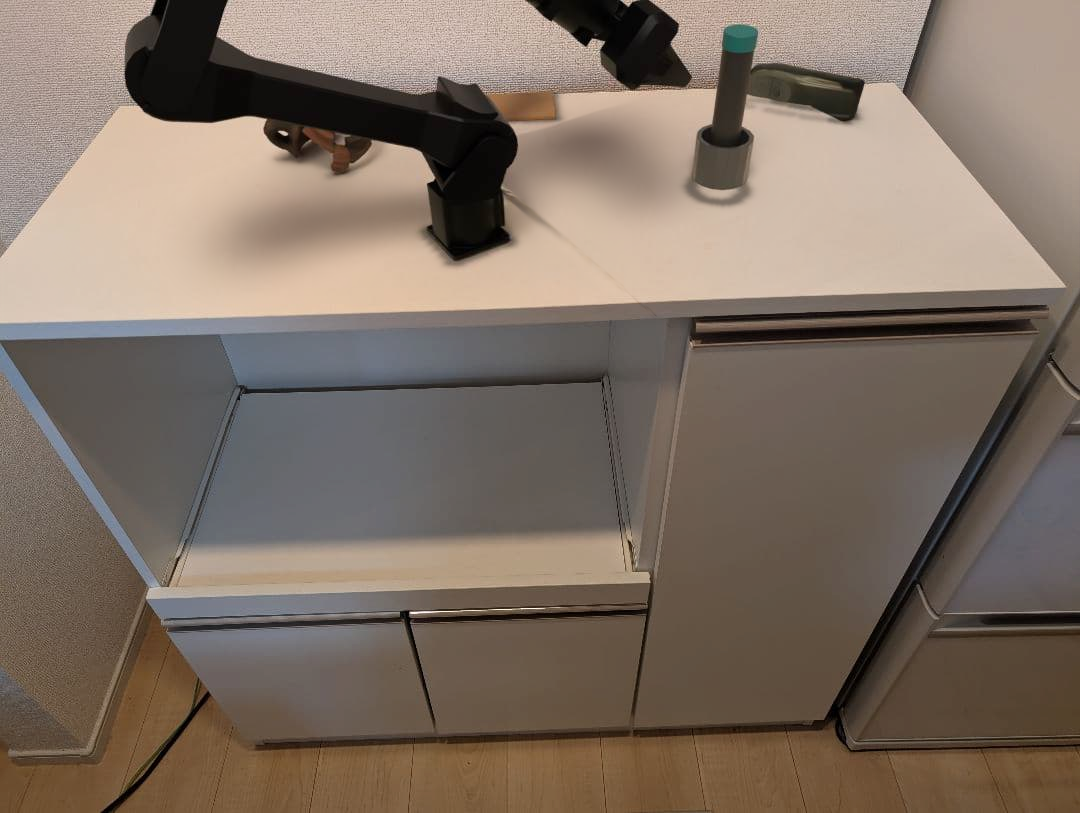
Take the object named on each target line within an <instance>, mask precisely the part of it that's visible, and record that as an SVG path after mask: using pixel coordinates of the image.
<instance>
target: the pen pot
mask: <svg viewBox="0 0 1080 813" xmlns="http://www.w3.org/2000/svg"><path fill="white" fill-rule="evenodd" d="M711 128H712V123H710V124H707V125H704V126H702V127H700V128H699V129H698V130H697V132H696V138H695V146H694V154H693V160H692V161H693V162H692V170H691V177H692V179H693V180H694V182H695V183H697V184H699V185H700V186H701V187H704V188H707V189H711V190H717V191H727V190H733V189H737V188H739V187H742V186H743V185H744V184H745V183H746V182H747V181H748V175H749V170H750V164H751V158H752V153H753V148H754V140H755V136H754V134H753V132H752V131H751V130H750V129H747V127H744V126H742V128H741V134H740V141H739V146H738V147H730V148H726V147H718V146H714V145H711V144H709V143H710V135H711Z"/></svg>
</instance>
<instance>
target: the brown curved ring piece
mask: <svg viewBox="0 0 1080 813" xmlns="http://www.w3.org/2000/svg"><path fill="white" fill-rule="evenodd" d="M262 128H263V129H262V131H263V134H264V135H265V136H266V138H267V140H268V141H269V142H270V143H271V144H272V145H274V146H275V147H277V148H278V149H281V150H284V151H287V152H288V153H289V154H290V155H291V156H292V157H293V158H295V159H298V158H300V153H301V151H302V149H303V148H304V146H305V144H307V143H308V142H309V141H312V142H314V143H315V144H316V145H317V146H319V147H320V148H321V149H323V150H325V151H326V152H328V153H330V154H332V162H331V164H330V169H331V171H332V172H334V173H340V174H344V173H346V172H347V170H348V169H349V168H350V164H351V165H352V164H354V163H357V161H359V160H360V159H361V158H362V157H363V156H364V155H365V154H366V153H367V152H368V151H370V148H371V147H372V145H373V141H372V140H369V139H364V138H359V137H354V136H349V135H346V136H344V144H339V143H336V141H335V137H336V133H334V132H328V131H323V130H318V129H313V128H308V127H303V126H298V125H293V124H288V123H283V122H278V121H273V120H268V119H265V122H264V124H263V127H262ZM281 132H284V133H287V134H286V135H284V134H283V133H281Z"/></svg>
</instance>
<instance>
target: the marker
mask: <svg viewBox="0 0 1080 813" xmlns="http://www.w3.org/2000/svg"><path fill="white" fill-rule="evenodd" d="M758 37H759V30H758V29H757V27H754V26H751V25H748V24H731V25H728V26H726V27H724V28H723V32H722V39H721V40H722V41H721V54H720V62H719V69H718V76H717V77H718V78H717V85H716V93H715V99H714V107H713V115H712V121H711V124H712V128H711V135H710V143H709V144H711V145H714V146H718V147H726V148H730V147H738V146H739V141H740V134H741V128H742V127H743V121H744V116H745V109H746V104H747V97H748V94H747V92H748V86H749V80H750V73H751V69H752V68H753V67H752V66H753V61H754V54H755V50H756V48H757V43H758Z"/></svg>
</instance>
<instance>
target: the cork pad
mask: <svg viewBox="0 0 1080 813" xmlns="http://www.w3.org/2000/svg"><path fill="white" fill-rule="evenodd" d="M484 94H485V93H484ZM485 95H487V96H488V97H489V98H490V99H491V100H492V101H493V102H494V104H495V105H496V106H497V108H498V109H499V111H500V112H501V113H502V115H503V116H504V117H505V119H506V120H507V121H508V122H511V121H513V122H514V121H533V120H534V121H536V120H555V119H556V118H557V116H556V108H555V100H554V92H553V91H536V92H535V91H533V92H531V91H530V92H509V93H507V92H506V93H488V94H485Z"/></svg>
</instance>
